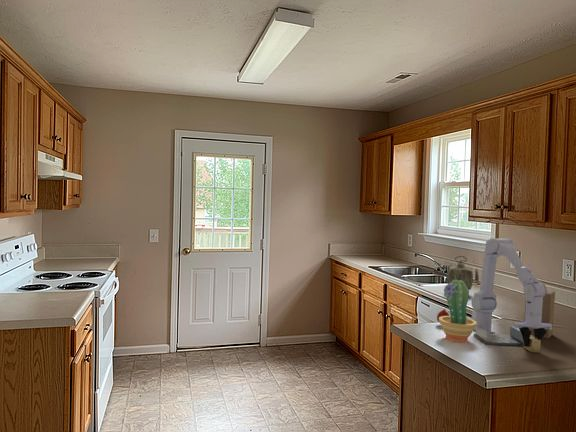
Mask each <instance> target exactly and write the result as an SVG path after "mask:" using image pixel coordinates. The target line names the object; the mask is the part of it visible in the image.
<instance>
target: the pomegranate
mask: <svg viewBox="0 0 576 432" xmlns="http://www.w3.org/2000/svg"><path fill="white" fill-rule="evenodd" d="M442 316H450V313H449V312H447V311H446V309H445V308H443V309H442V310H441V311H439V312H438V313H437V316H436V318H437V322H438V323H439V317H442ZM439 324H440V325H441V323H439Z"/></svg>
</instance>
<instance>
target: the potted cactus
mask: <svg viewBox="0 0 576 432" xmlns="http://www.w3.org/2000/svg"><path fill="white" fill-rule="evenodd" d="M443 293H444V294H443V296H444V297H445V299H446V301H447V305H448V308H449V315H450V316H442V317H439V322H438V323H439V324H440V323H441V324H440V325H441V329H442V332H443V333H444V335H445V339H446V338H447V339H446V340H448V339H449V340H448V341H451V340H452V341H451V342H455V341H456V342H455V343H467V342H468V340H469V339H468V338H469V337H470V336H471V335H472V333H473V331H474V328H475V327H476V325H477V322H476V321H474V320H472V318H468V317H467V305H468V302H469V296H470V290H468V288H467V286H466V285H465V283H464V282H463V281H462V280H460V281H458V280H455V281H454V280H452V282H451V283H449V284H446V285H445V286H444V289H443Z"/></svg>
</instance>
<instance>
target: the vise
mask: <svg viewBox="0 0 576 432" xmlns="http://www.w3.org/2000/svg"><path fill="white" fill-rule="evenodd" d="M473 337H475V338H476V339H478V340H479V341H481V342H482V343H483V344H485V345H490V346H517V347H518V346H519V347H523V342H521V341H519V340H517V339H516V338H514V337H512V336H511V335H510V334H499V333H498V334H496V333H492V332H491V331H489V330H488V329H486V328H484V327H483V326H481V325H476V331H475V333H473Z"/></svg>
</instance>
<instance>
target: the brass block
mask: <svg viewBox="0 0 576 432" xmlns="http://www.w3.org/2000/svg"><path fill="white" fill-rule="evenodd" d="M541 341H542V340H540V339H538V338H536V337H534V336H532V335H530V340H529V347H526V346H525V345H524V340H523V346H522V348H523V349H525V350H527V351H528V352H530V353H541Z"/></svg>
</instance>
